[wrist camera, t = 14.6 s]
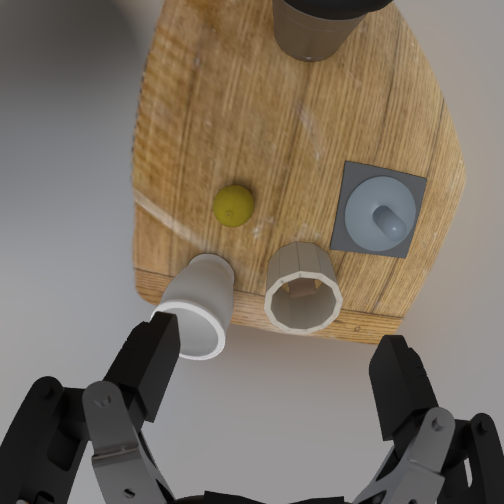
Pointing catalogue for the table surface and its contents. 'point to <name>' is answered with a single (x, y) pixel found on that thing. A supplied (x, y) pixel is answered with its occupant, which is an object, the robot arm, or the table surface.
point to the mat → (350, 181)
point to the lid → (379, 213)
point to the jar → (201, 305)
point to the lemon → (233, 206)
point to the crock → (307, 306)
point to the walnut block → (301, 286)
